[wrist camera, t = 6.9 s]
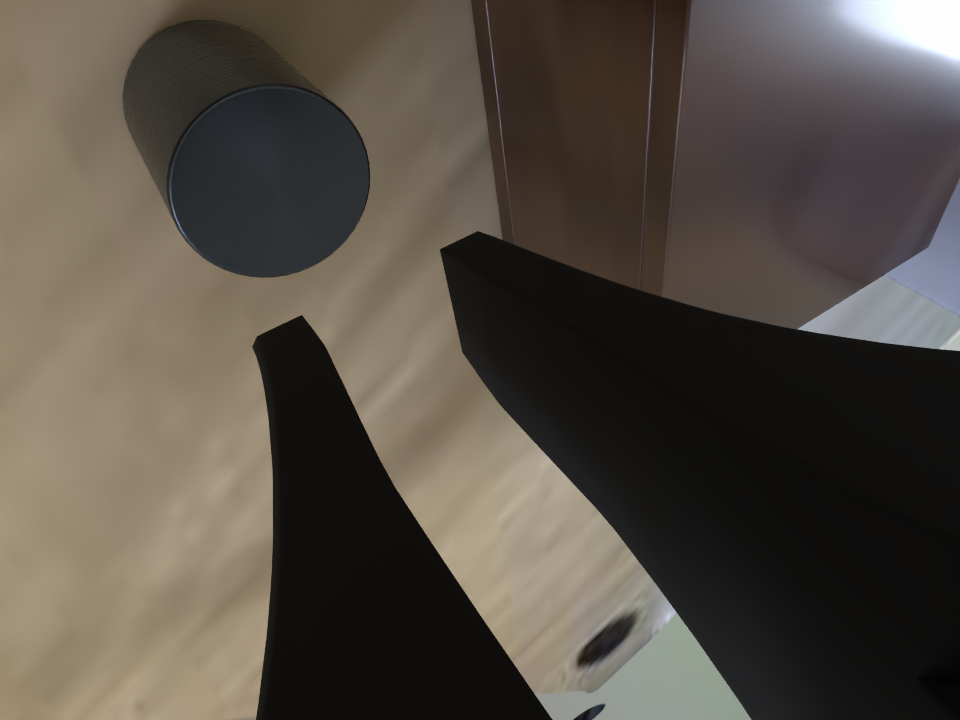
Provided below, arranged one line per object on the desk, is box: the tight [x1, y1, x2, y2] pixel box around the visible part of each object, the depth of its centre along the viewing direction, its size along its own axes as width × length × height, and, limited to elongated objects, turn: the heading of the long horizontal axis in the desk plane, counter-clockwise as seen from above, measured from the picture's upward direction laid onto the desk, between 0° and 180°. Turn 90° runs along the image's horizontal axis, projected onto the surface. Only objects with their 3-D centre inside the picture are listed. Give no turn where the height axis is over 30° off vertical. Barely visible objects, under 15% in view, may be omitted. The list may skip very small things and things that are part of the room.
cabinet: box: [471, 0, 960, 329], centre depth 18 cm, size 13×12×8 cm
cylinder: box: [123, 20, 370, 278], centre depth 14 cm, size 4×4×4 cm
